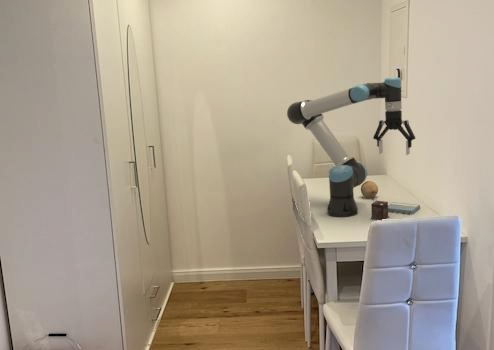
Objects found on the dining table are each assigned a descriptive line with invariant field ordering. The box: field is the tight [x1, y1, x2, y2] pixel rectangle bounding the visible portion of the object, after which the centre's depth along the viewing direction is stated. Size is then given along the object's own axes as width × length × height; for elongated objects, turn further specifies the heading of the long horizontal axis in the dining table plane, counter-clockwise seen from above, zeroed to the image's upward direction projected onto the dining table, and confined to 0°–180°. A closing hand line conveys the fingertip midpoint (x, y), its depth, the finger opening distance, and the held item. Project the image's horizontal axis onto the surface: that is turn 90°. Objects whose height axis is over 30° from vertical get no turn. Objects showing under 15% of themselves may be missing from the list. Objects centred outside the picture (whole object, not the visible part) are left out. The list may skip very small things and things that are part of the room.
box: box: [370, 200, 389, 220], centre depth 232 cm, size 6×6×7 cm
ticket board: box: [388, 202, 421, 216], centre depth 242 cm, size 14×12×2 cm
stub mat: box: [370, 215, 390, 221], centre depth 233 cm, size 7×6×1 cm
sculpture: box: [360, 180, 379, 199], centre depth 269 cm, size 9×9×15 cm
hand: (394, 153), depth 238 cm, fingers open, 13 cm apart
